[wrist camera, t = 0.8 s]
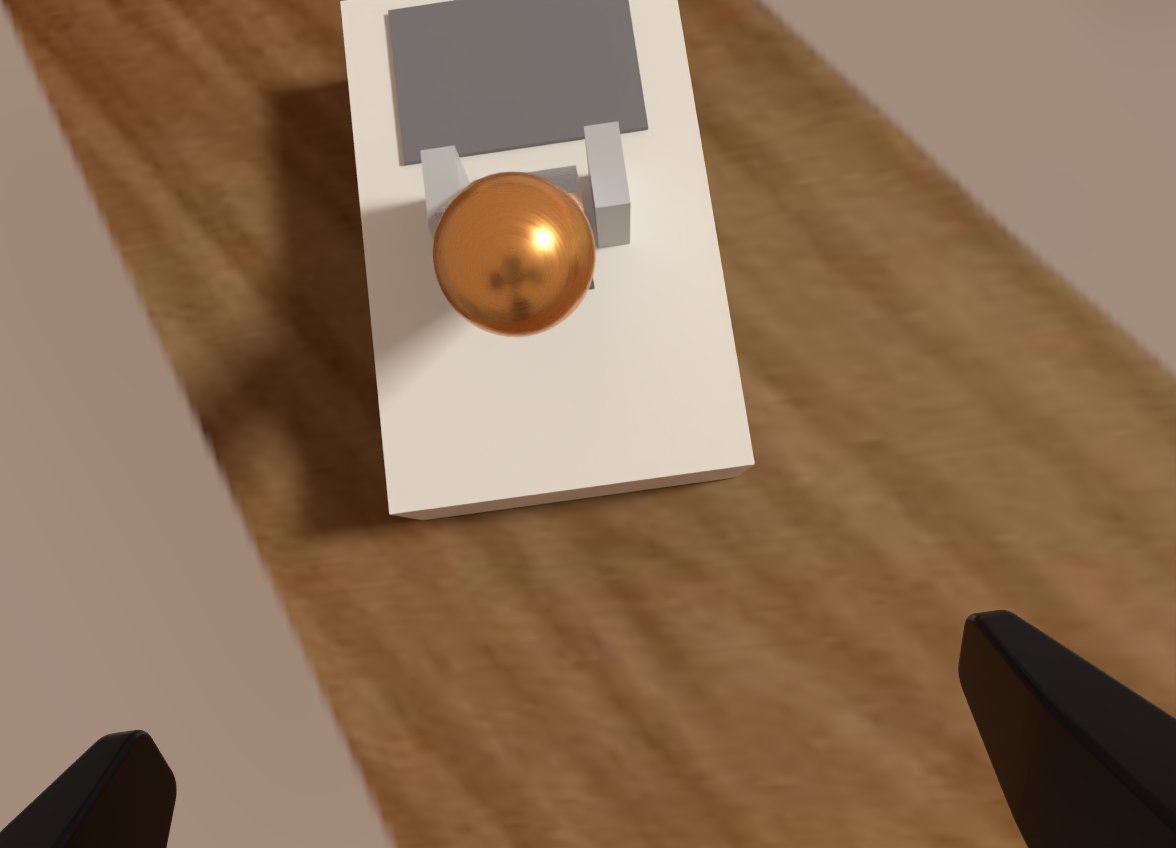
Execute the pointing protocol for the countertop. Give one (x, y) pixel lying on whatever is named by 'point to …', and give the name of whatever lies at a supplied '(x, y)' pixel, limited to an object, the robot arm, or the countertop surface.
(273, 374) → the countertop surface
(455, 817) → the countertop surface
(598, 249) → the switch box
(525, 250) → the switch lever
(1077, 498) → the countertop surface
